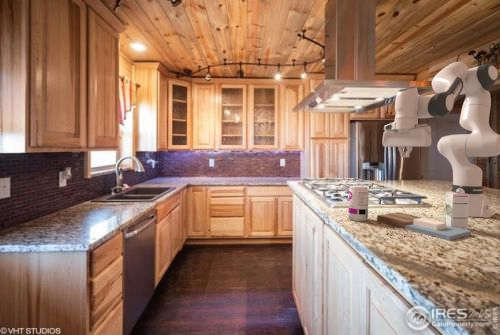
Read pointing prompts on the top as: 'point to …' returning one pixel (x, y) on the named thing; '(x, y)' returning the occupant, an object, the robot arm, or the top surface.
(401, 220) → the brown square tile
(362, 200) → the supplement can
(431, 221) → the cream rectangular block
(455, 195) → the syrup box
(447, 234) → the mat
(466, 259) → the top surface
